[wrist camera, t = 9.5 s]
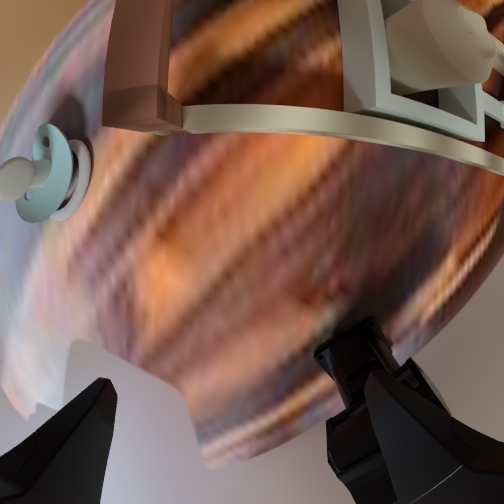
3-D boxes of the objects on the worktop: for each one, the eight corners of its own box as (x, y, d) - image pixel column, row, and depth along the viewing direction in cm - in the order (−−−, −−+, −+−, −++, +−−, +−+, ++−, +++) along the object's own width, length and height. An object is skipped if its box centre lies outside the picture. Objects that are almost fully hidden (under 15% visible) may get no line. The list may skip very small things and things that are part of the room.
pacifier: (109, 147, 16) (53, 117, 14) (63, 152, 10) (1, 115, 8) (73, 234, 18) (24, 200, 16) (30, 268, 12) (-24, 223, 10)
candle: (340, 61, 15) (426, 8, 5) (372, 21, 13) (451, -29, 4) (396, 110, 16) (499, 103, 7) (422, 68, 15) (514, 49, 5)
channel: (509, 73, 14) (563, 73, 5) (513, 179, 18) (570, 200, 10) (175, -22, 11) (150, -94, 3) (163, 135, 16) (102, 126, 7)
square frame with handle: (508, 82, 14) (552, 82, 7) (512, 164, 17) (557, 177, 11) (336, -1, 12) (377, -46, 6) (343, 114, 16) (402, 101, 9)
